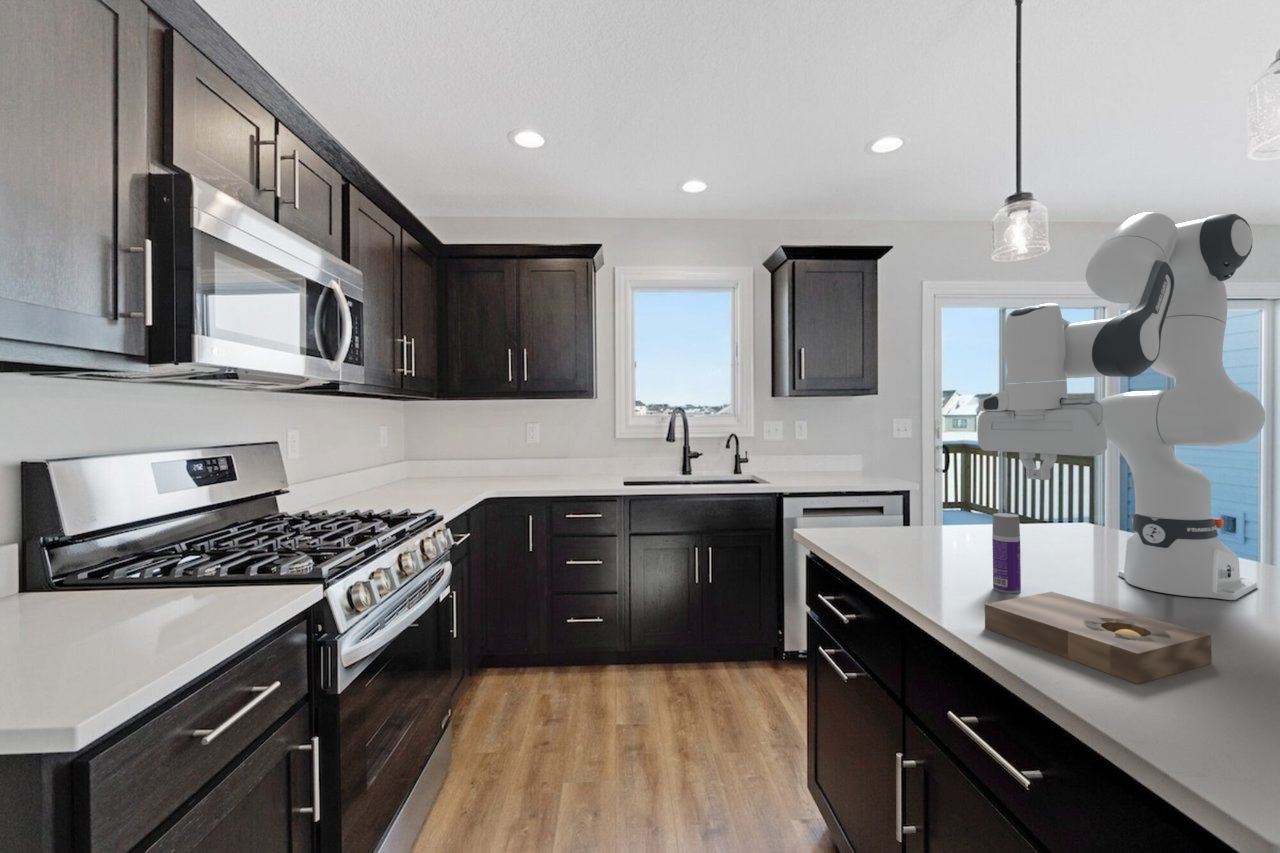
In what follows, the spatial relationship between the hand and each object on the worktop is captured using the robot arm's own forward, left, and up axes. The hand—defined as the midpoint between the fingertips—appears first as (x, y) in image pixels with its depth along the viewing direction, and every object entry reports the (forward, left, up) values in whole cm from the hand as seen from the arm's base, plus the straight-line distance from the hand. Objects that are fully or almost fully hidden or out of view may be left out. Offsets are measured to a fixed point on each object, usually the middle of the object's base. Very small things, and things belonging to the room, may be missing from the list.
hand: (1038, 479), depth 101 cm
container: (-9, -13, -24) cm, 29 cm away
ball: (+6, +17, -22) cm, 28 cm away
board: (+5, +11, -24) cm, 27 cm away
